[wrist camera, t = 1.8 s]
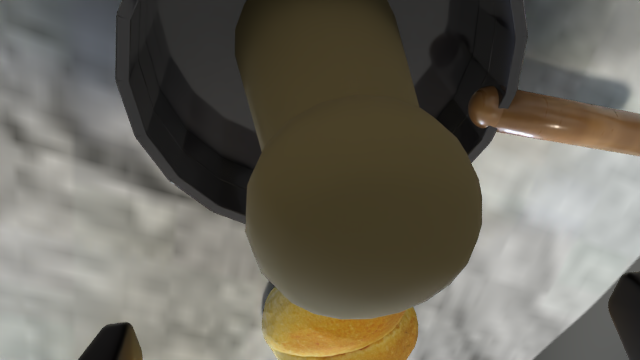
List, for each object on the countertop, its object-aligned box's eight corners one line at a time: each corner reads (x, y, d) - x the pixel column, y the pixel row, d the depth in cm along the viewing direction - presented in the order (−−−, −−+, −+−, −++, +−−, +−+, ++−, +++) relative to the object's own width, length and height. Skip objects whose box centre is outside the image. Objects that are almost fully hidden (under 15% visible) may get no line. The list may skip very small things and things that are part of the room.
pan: (130, 159, 21) (113, 214, 18) (145, -223, 14) (119, -227, 11) (413, 196, 24) (434, 248, 21) (548, -100, 17) (607, -79, 14)
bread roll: (395, 227, 25) (417, 290, 22) (417, 330, 31) (436, 392, 28) (237, 268, 26) (236, 335, 22) (286, 362, 31) (290, 427, 28)
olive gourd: (198, 39, 18) (152, 269, 9) (332, -81, 16) (431, 68, 7) (305, 144, 21) (345, 389, 12) (427, 55, 19) (573, 268, 11)
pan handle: (454, 112, 19) (469, 135, 18) (472, 73, 18) (489, 94, 17) (640, 145, 21) (665, 168, 20) (664, 112, 20) (692, 133, 19)
